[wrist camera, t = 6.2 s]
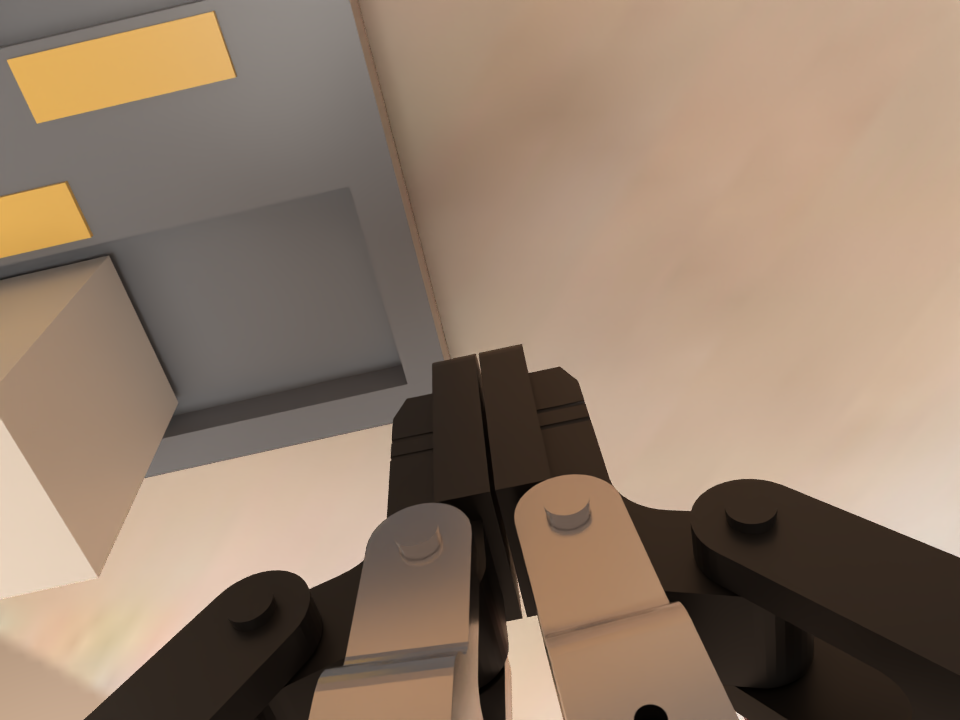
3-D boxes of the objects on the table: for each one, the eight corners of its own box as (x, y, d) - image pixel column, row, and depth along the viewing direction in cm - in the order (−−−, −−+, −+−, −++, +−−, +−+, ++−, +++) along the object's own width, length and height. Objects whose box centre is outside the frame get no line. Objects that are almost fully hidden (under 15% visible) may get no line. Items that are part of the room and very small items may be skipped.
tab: (108, 255, 18) (-13, 397, 13) (178, 402, 20) (98, 578, 15) (-64, 294, 18) (-255, 452, 13) (23, 437, 20) (-112, 624, 15)
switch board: (249, -418, 14) (223, -476, 12) (451, 365, 22) (457, 411, 20) (-466, -241, 14) (-611, -268, 12) (-10, 467, 22) (-51, 523, 20)
